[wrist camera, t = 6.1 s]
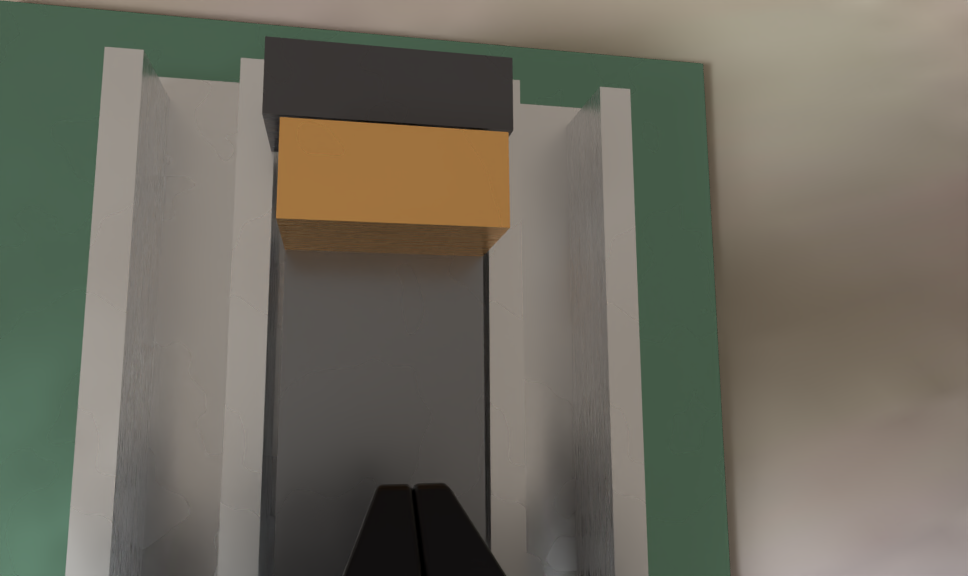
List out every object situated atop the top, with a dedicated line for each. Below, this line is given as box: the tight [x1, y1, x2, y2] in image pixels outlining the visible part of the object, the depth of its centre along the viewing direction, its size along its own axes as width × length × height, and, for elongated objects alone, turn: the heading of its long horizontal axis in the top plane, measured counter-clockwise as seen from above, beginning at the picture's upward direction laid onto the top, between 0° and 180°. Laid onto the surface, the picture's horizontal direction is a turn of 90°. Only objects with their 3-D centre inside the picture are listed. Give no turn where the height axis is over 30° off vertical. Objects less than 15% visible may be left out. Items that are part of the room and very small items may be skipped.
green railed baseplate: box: [0, 1, 730, 576], centre depth 15 cm, size 20×18×6 cm
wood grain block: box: [273, 117, 510, 576], centre depth 12 cm, size 11×4×3 cm, turn 0°
